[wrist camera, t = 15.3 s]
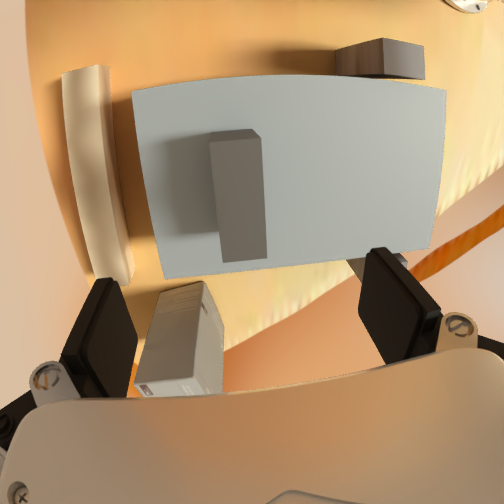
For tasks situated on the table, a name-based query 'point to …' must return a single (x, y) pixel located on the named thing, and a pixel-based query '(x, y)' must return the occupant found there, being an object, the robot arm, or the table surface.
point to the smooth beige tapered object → (96, 171)
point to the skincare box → (183, 345)
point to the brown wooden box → (380, 67)
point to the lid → (288, 169)
